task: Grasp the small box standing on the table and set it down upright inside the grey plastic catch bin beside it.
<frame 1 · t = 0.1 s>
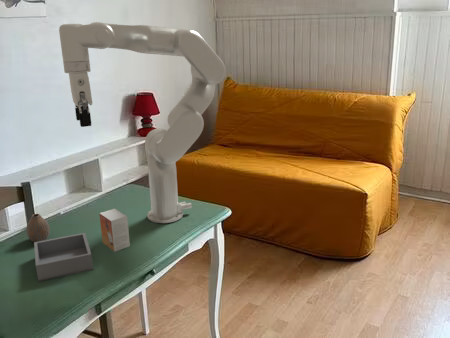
hand: (83, 122, 143), 37 cm above the table, tool pointing down, fingers open, 9 cm apart
small box: (116, 245, 145), on the table
vase: (39, 240, 149), on the table
catch bin: (64, 263, 134), on the table
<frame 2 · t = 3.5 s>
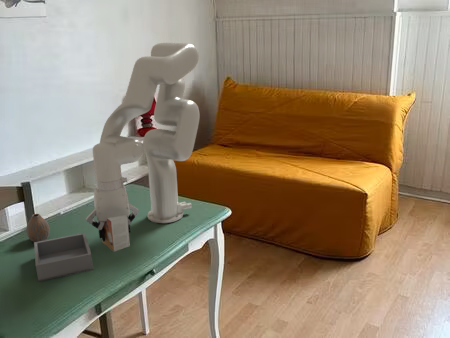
hand: (115, 236, 144), 3 cm above the table, tool pointing down, fingers closed on small box, 6 cm apart
small box: (116, 245, 145), on the table, touching gripper
everything else where it was.
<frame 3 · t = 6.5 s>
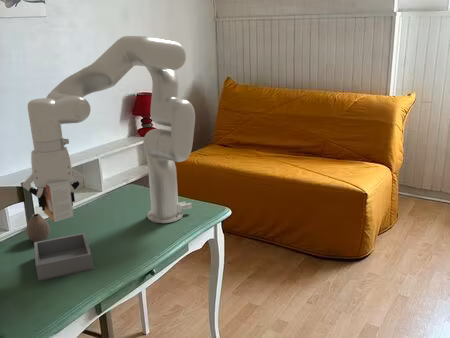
hand: (57, 206, 129), 18 cm above the table, tool pointing down, fingers closed on small box, 6 cm apart
small box: (59, 215, 130), point 15 cm above the table, touching gripper
everything else where it was.
when the fingers open (5 cm above the table, at t = 9.9 s): small box drops 2 cm, resting on catch bin.
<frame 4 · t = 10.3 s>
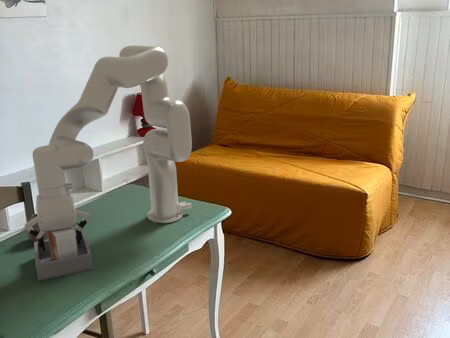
hand: (61, 245, 132), 6 cm above the table, tool pointing down, fingers open, 9 cm apart
small box: (65, 261, 134), resting on catch bin
everything else where it was.
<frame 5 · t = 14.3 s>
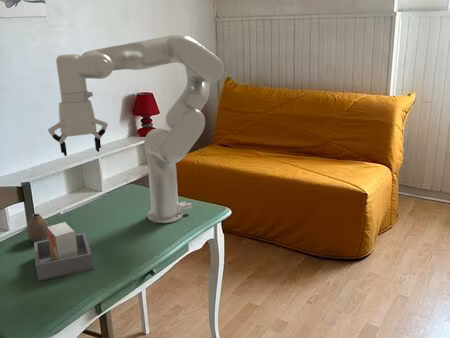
hand: (81, 152, 142), 28 cm above the table, tool pointing down, fingers open, 9 cm apart
nothing on the table moved.
at the end: small box inside the target area on the catch bin (0.3 cm from its centre), point 0.4 cm above the catch bin's base; small box tilted 0°; the gripper is holding nothing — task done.
